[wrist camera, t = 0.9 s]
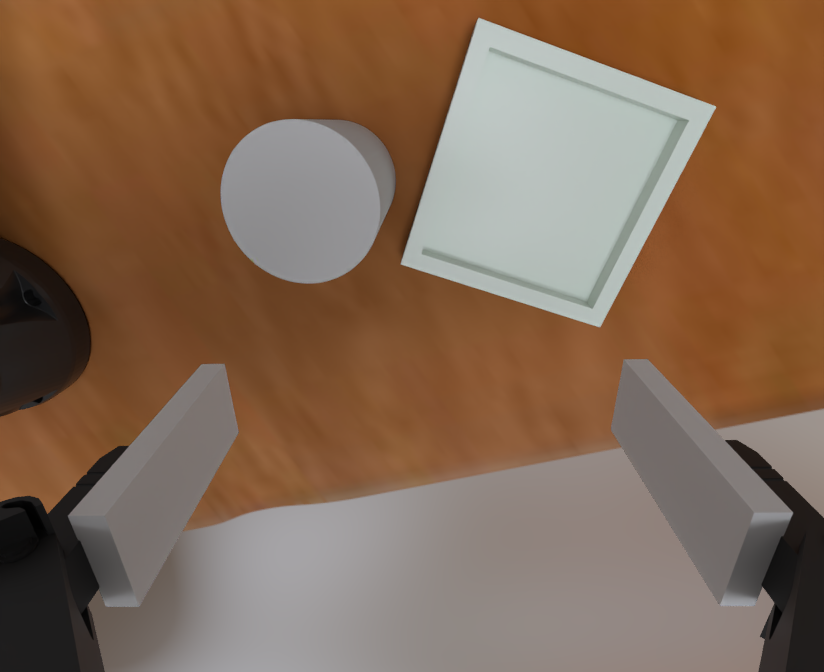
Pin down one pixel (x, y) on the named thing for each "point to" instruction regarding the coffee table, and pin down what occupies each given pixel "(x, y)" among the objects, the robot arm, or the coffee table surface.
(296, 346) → the coffee table surface
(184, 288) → the coffee table surface
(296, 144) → the cup
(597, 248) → the tray
